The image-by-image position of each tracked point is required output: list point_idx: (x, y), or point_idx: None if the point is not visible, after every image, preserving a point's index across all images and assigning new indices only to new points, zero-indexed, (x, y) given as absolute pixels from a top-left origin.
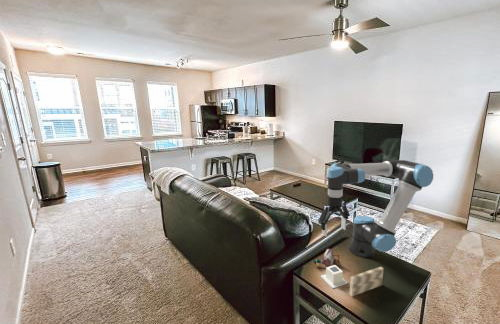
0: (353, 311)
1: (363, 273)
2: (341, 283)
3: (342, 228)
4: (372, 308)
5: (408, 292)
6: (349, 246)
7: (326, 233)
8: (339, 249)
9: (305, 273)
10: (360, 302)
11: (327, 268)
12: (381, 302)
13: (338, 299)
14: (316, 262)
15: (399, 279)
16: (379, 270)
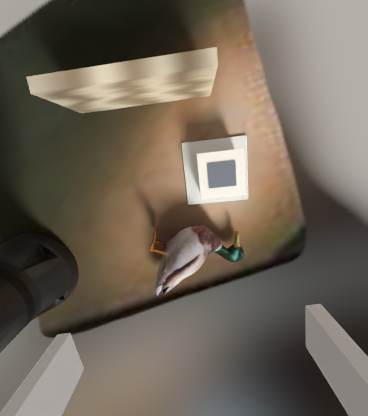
0: (248, 19)
1: (142, 70)
2: (205, 145)
3: (77, 357)
4: (179, 13)
5: (14, 45)
6: (70, 291)
7: (325, 328)
8: (107, 293)
9: (285, 224)
10: None
11: (244, 187)
12: (132, 29)
13: (259, 84)
14: (239, 247)
15: (4, 110)
16: (53, 74)
